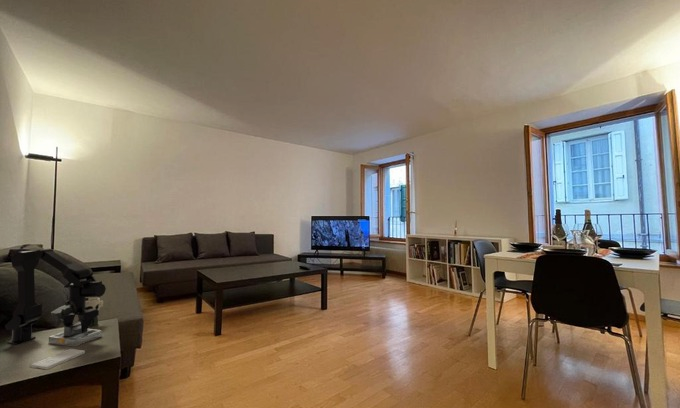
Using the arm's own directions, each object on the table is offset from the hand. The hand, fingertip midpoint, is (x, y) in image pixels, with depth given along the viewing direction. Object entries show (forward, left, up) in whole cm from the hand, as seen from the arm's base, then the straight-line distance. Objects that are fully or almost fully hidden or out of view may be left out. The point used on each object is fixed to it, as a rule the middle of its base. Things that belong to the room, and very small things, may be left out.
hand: (75, 332), depth 125 cm
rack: (0, 0, -3) cm, 3 cm away
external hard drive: (+14, -15, -4) cm, 21 cm away
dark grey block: (0, 0, -2) cm, 2 cm away
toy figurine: (-12, +14, -4) cm, 19 cm away
